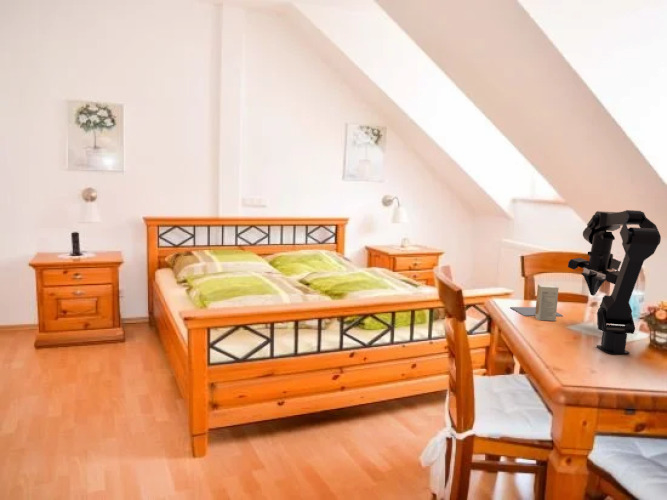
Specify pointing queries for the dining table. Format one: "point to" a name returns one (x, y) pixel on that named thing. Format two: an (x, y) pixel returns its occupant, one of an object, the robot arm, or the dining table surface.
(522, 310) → the felt mat
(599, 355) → the dining table surface
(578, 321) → the dining table surface
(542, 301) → the skincare box
